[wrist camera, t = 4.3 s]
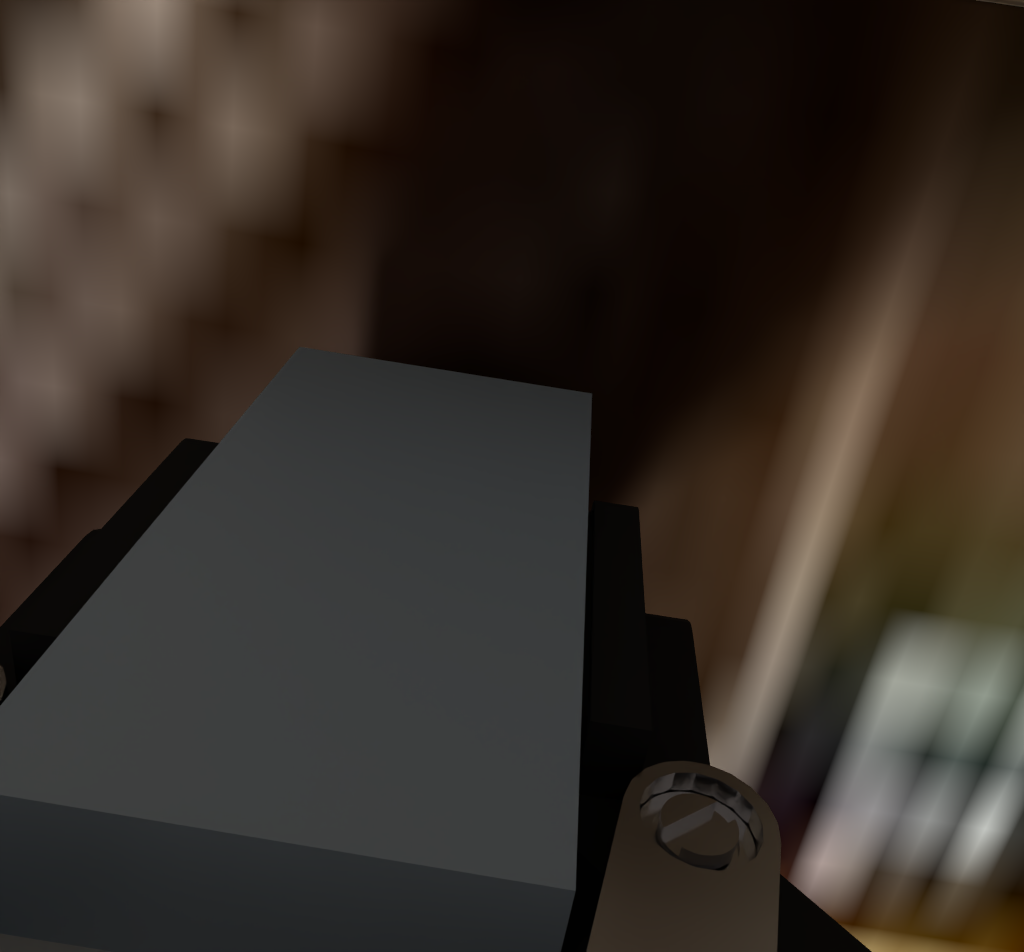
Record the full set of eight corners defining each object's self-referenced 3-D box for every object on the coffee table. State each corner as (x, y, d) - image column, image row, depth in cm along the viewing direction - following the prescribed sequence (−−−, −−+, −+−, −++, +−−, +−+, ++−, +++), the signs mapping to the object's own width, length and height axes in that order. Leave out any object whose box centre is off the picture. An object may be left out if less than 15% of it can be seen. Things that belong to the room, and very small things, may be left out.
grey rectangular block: (591, 393, 13) (575, 891, 6) (547, 632, 15) (494, 1226, 8) (299, 347, 13) (-65, 783, 6) (291, 589, 15) (4, 1144, 8)
